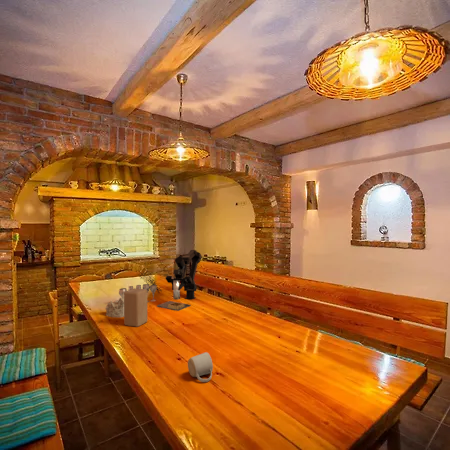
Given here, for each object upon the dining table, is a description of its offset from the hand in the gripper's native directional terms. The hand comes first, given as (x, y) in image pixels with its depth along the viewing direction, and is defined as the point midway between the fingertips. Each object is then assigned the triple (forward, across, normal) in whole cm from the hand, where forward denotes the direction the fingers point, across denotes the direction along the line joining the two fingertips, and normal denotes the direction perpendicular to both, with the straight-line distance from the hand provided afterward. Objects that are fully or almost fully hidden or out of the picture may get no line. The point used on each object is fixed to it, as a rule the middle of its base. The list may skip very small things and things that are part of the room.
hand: (175, 289), depth 202 cm
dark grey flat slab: (+5, -4, +14) cm, 15 cm away
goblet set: (+4, -34, +15) cm, 37 cm away
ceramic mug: (+65, +46, -47) cm, 93 cm away
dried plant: (-15, -44, +35) cm, 58 cm away
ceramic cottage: (+22, -32, -3) cm, 39 cm away
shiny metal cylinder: (+4, 0, +6) cm, 7 cm away
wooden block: (+33, -11, -14) cm, 37 cm away
